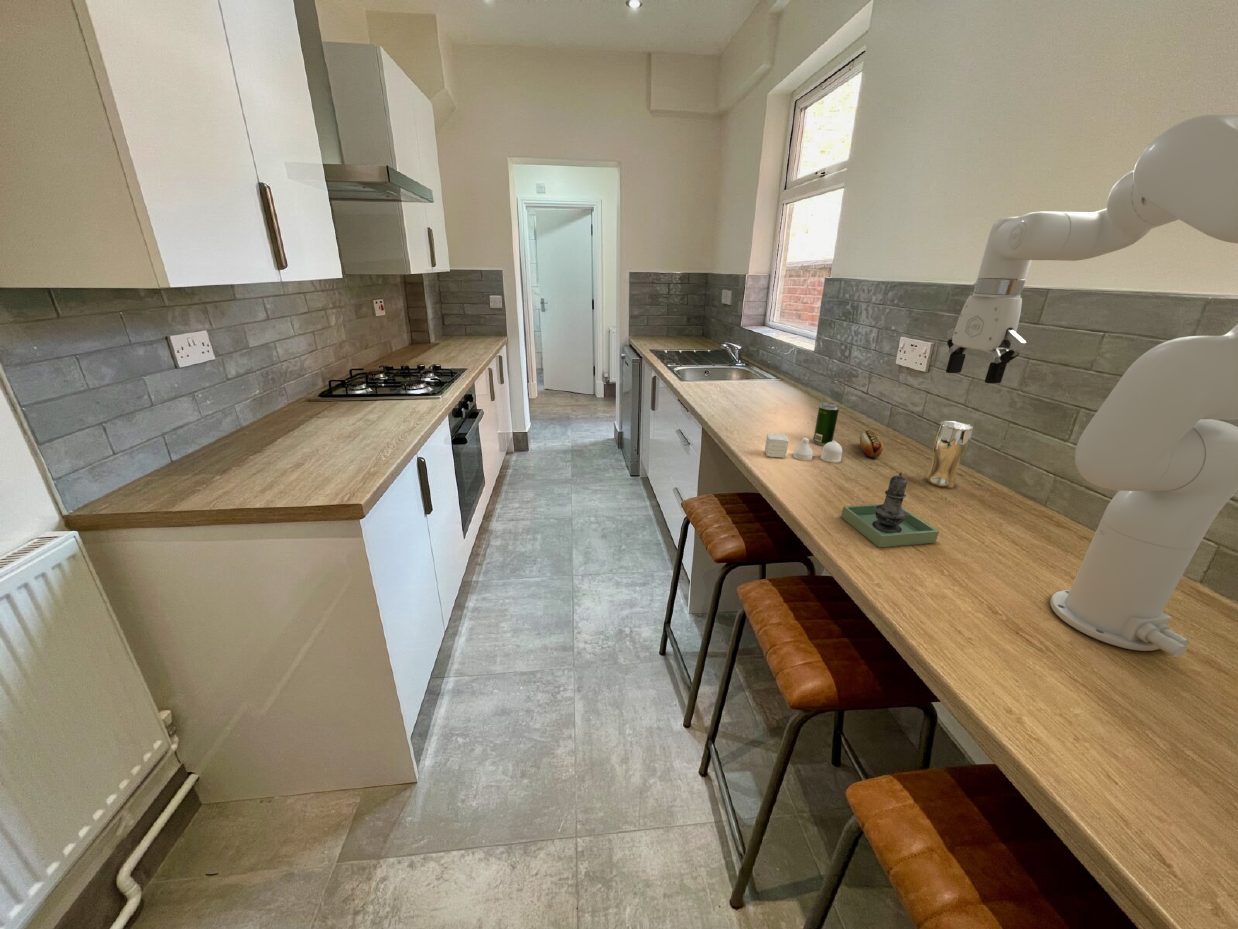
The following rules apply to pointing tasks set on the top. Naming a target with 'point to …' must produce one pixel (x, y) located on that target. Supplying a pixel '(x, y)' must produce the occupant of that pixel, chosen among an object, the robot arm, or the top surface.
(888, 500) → the salt shaker
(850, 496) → the top surface
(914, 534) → the serving tray
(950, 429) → the beer glass
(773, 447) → the container set
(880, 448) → the hot dog
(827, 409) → the beer can
